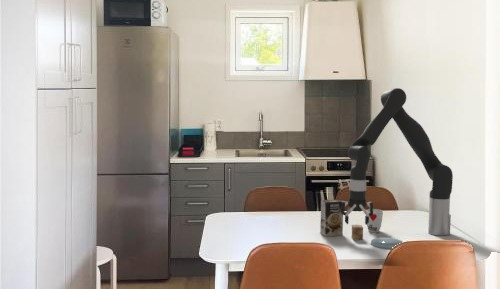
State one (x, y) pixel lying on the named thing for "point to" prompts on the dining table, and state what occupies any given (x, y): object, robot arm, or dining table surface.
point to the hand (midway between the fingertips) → (356, 224)
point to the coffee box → (331, 218)
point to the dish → (385, 242)
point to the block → (357, 232)
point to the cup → (375, 220)
